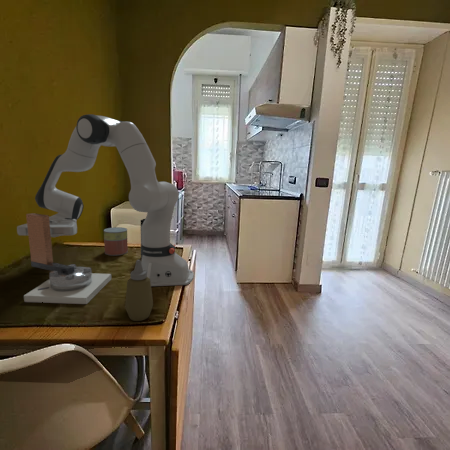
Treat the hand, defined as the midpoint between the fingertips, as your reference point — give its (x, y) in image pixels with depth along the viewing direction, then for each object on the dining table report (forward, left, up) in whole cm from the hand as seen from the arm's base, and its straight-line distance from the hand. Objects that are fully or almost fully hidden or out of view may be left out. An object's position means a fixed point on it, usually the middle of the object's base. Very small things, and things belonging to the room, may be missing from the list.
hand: (39, 234), depth 100 cm
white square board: (-16, +8, -18) cm, 25 cm away
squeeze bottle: (-45, +24, -18) cm, 54 cm away
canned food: (-15, -36, -18) cm, 43 cm away
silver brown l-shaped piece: (-10, +6, -16) cm, 20 cm away
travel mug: (-33, -30, -18) cm, 48 cm away
